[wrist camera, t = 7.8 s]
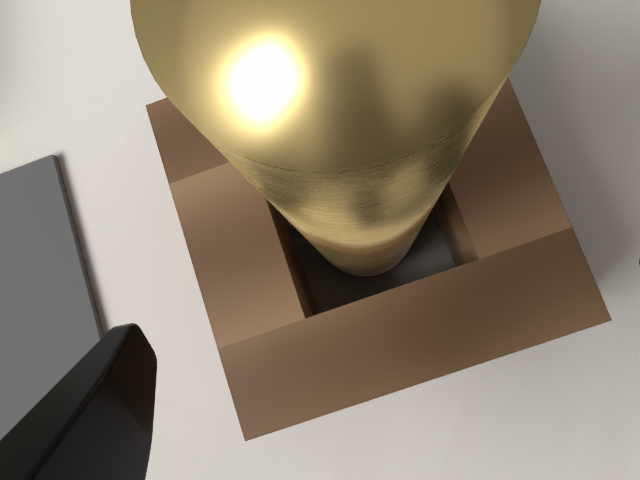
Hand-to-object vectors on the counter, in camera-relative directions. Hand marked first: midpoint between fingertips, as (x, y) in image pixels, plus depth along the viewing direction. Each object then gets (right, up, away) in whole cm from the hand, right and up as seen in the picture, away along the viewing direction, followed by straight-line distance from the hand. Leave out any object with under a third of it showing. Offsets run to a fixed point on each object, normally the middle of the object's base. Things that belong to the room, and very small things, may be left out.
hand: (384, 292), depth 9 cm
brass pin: (+1, +1, +10) cm, 11 cm away
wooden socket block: (+1, +1, +10) cm, 11 cm away
